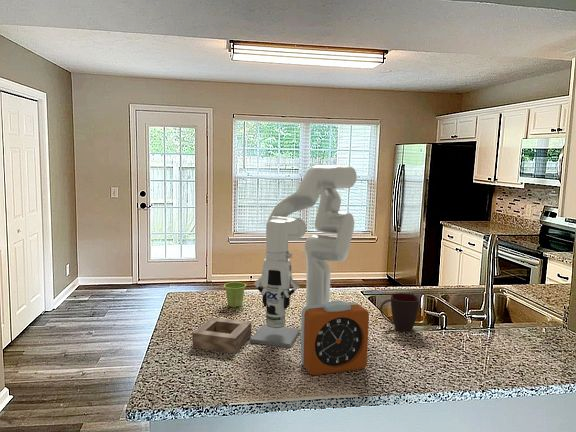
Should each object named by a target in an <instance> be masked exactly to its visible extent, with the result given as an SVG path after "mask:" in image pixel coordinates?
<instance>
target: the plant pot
mask: <svg viewBox="0 0 576 432" xmlns="http://www.w3.org/2000/svg"><path fill="white" fill-rule="evenodd" d="M246 287H247V284H246V283H244V282H239V281H231V282H227V283H225V284H224V285H223V288H224V289H225V295H226V301H227V306H229V307H232V308H236V307H241V306H243V301H244V295H245V290H246Z"/></svg>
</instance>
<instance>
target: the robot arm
mask: <svg viewBox="0 0 576 432" xmlns="http://www.w3.org/2000/svg"><path fill="white" fill-rule="evenodd" d="M357 175H358V174H357V171H356V170H355V168H354V167H353V166H347V165H345V166H344V165H313V166H310V167H309V168H308V169H307V171H306V173H305V174H304V177H303V178H302V179H301V182H300V183H299V186H298V187H297V189H296V191H294V193H292V194H290V195H288V196H287V197H286V198H283V200H281V201H280V202H278V204H276V206H274V207H273V209H272V211H271V213H270V215H269V217H268V219H267V222H266V225H265V226H266V228H265V233H266V234H265V258H264V259H263V264H262V269H261V276H260V277H259V278H258V279H257V280H256V281H254V282H253V285H254V286H255V287H256V288H257V290H258V291H259V292H260V294H261V296H262V298H261V299H262V304H263V307H264V308H265V307H266V302H267V284H268V271H269V270H275V271H280V272H281V284H282V289H283V290H284V293H285V298H284V308H285V310H286V309H288V307H289V306H290V305H291V304H290V303H291V296H292V295H293V294H294V293H295V292H296V291H297V290H298V289H299V288H300V285H299V284H298V283H297V282H296V280H294V279H293V274H292V273H293V269H292V264H291V263H292V262H291V259H292V257H293V254H292V253H290V252H289V240H299V239H301V238H302V237H304V236H305V234H306V232H307V224H306V222H305V221H304V220H303V219H301V218H300V217H299V218H298V217H293V216H291V217H290V215H292V214H293V213H296V212H300V211H303V210H306V209H309V208H311V207H314V206H315V205H316V203H317V201H318V199H319V197H320V200H319V204H318V208H317V212H316V216H315V220H314V229H315V230H316V231H317V232H319V233H322V234H313V235H310V236H308V237H307V238H306V239H305V242H304V252H305V260H306V281H305V282H306V284H305V285H306V288H305V290H306V291H305V292H306V293H305V294H306V295H305V305H304V306H303V307H305V306H310V305H322V304H326V303H328V302H331V301H332V300H331V299H330V298H331V295H330V294H331V267H330V264H329V263H328V262H329V261H330V262H335V263H343V262H344V261H345V260H346V259H347V258H348V255H349V252H350V251H349V250H350V246H351V242H352V239H353V234H354V229H355V219H354V216H353V214H352V213H350V212H348V211H345V210H340V209H341V203H342V199H341V196H340V194H339V192H338V191H337V190H338V189H339V190H340V189H341V190H343V189H350V188H352V187H354V185H355V184H356V182H357V177H358V176H357ZM323 234H328V235H323ZM329 235H335V236H329ZM290 258H291V259H290ZM291 287H293V288H292V289H290V288H291ZM303 307H302V309H303ZM302 309H301V310H302Z"/></svg>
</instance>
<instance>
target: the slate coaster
mask: <svg viewBox="0 0 576 432" xmlns="http://www.w3.org/2000/svg"><path fill="white" fill-rule="evenodd" d="M300 331H301V328H298V327H290V326H284V327H281V328H272V327H268V326H267V324H266V323H265V324H264V323H262V324H261V326H260V327H259V328H258V329H257V331H256V332H255V333H254V334H253V335H251V337H250V338H249V343H251V344H252V343H253V344H261V345H269V346H274V347H275V346H276V347H283V348H285V347H286V348H291V347H292V345H293V344H294V342H295V340H296V339H297V337H298V335H299V334H300V333H301V332H300Z"/></svg>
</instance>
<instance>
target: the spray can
mask: <svg viewBox="0 0 576 432" xmlns="http://www.w3.org/2000/svg"><path fill="white" fill-rule="evenodd" d="M284 298H285V293H284V290H283V289H282V284H281V272H280V271H275V270H269V271H268V284H267V302H266V306H265V307H266V309H265V310H266V312H265V313H266V315H265V316H266V317H265V318H266V319H265V324H266V325H267V326H268V327H272V328H281V327H286V309H285V308H284Z"/></svg>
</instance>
